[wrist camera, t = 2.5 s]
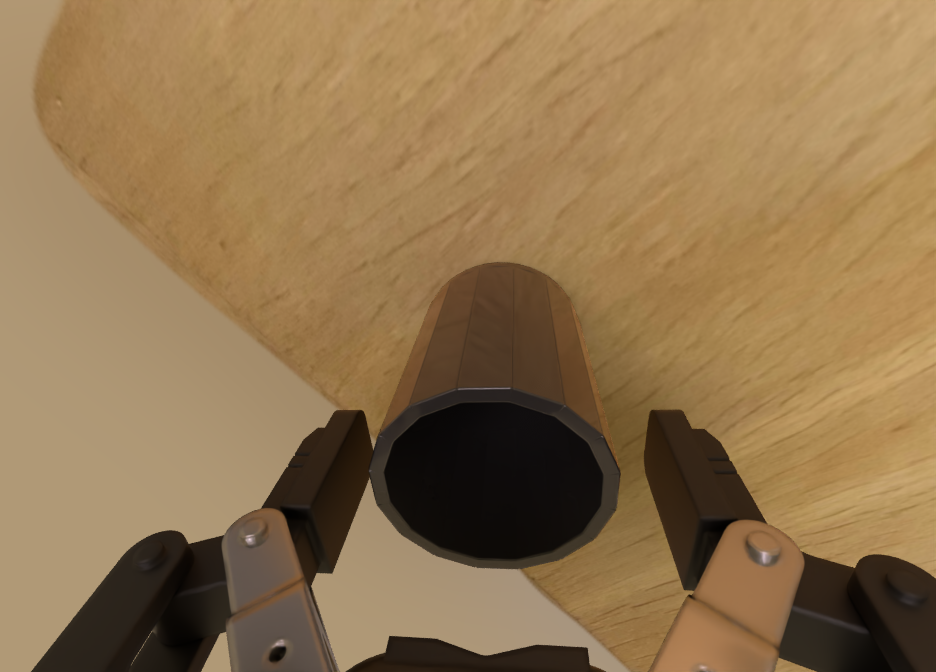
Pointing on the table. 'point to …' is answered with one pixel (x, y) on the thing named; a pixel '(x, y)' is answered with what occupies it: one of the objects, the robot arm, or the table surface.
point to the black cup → (497, 427)
